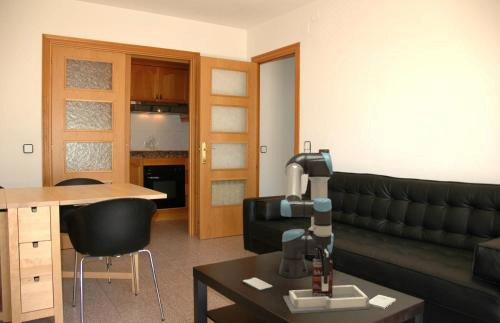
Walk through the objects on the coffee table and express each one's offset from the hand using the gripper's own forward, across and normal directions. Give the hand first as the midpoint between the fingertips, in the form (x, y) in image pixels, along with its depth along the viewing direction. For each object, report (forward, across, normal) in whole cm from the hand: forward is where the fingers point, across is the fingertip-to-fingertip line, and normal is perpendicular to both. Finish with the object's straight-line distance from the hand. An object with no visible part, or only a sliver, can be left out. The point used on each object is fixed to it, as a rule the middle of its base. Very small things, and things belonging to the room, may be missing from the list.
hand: (322, 287), depth 172 cm
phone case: (+7, -27, -24) cm, 37 cm away
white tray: (+7, 0, 0) cm, 7 cm away
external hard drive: (+8, +3, +25) cm, 26 cm away
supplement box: (+4, 0, 0) cm, 4 cm away
